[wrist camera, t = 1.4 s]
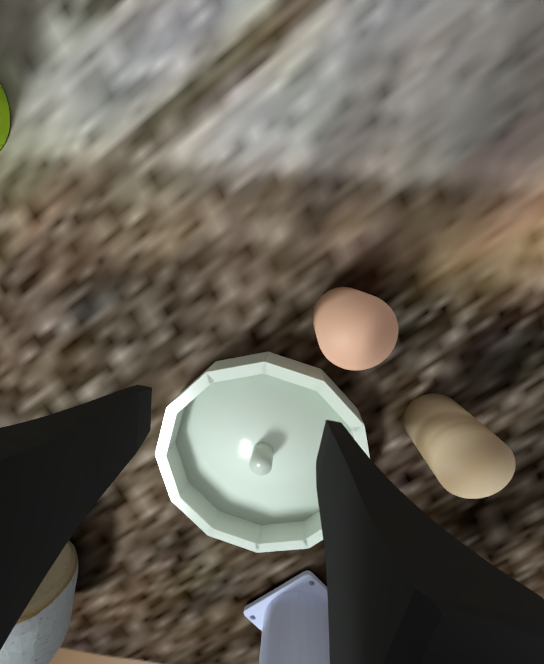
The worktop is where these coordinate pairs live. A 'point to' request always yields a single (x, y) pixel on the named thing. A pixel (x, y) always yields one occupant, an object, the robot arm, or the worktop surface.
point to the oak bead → (458, 447)
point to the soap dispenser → (4, 117)
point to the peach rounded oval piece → (354, 328)
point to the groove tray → (253, 449)
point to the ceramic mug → (45, 615)
